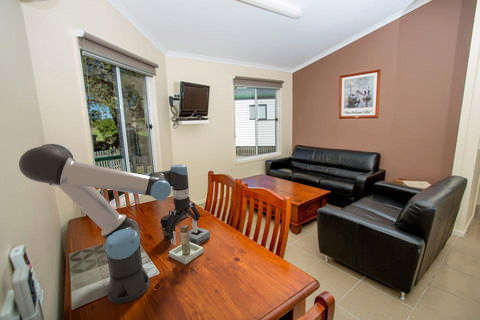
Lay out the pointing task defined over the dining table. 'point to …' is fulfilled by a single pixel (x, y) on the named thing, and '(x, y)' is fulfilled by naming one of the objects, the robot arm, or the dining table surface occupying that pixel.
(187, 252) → the pin
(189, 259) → the tray
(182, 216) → the figurine
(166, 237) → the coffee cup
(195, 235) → the socket block
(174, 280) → the dining table surface
